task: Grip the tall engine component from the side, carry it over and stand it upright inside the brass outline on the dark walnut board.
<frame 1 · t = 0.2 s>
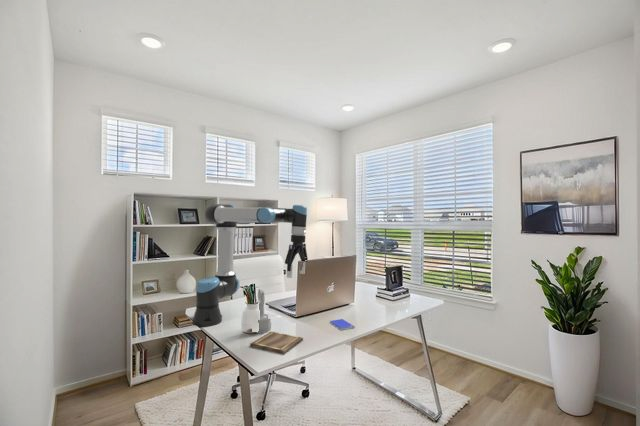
hand: (295, 275, 160), 27 cm above the table, tool pointing down, fingers open, 13 cm apart
walnut board: (277, 343, 140), on the table
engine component: (261, 329, 158), on the table
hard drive: (342, 326, 164), on the table
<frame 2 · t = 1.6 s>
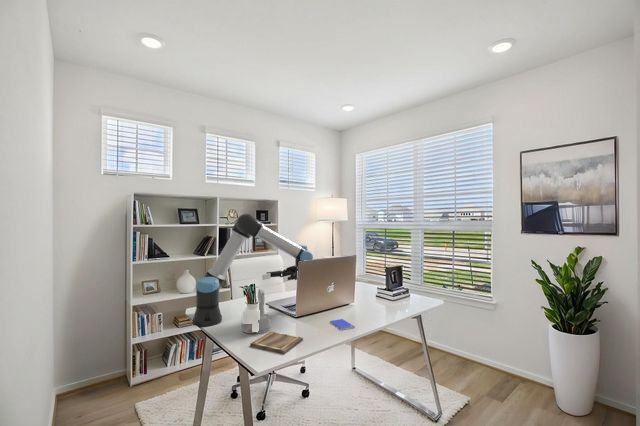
hand: (273, 278, 167), 24 cm above the table, tool horizontal, fingers open, 13 cm apart
nothing on the table moved.
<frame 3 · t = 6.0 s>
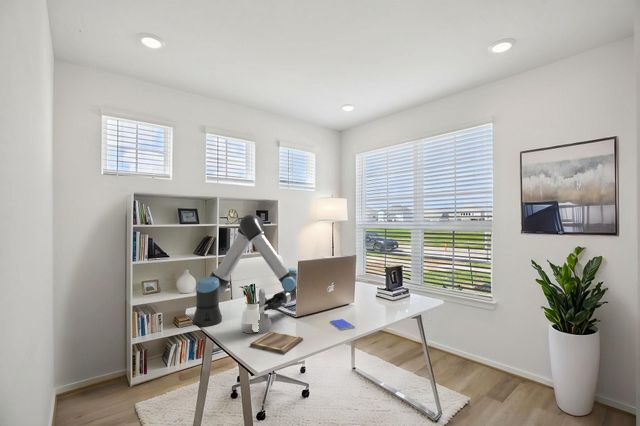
hand: (255, 309, 154), 11 cm above the table, tool horizontal, fingers closed on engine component, 4 cm apart
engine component: (261, 329, 158), on the table, touching gripper
everything else where it was.
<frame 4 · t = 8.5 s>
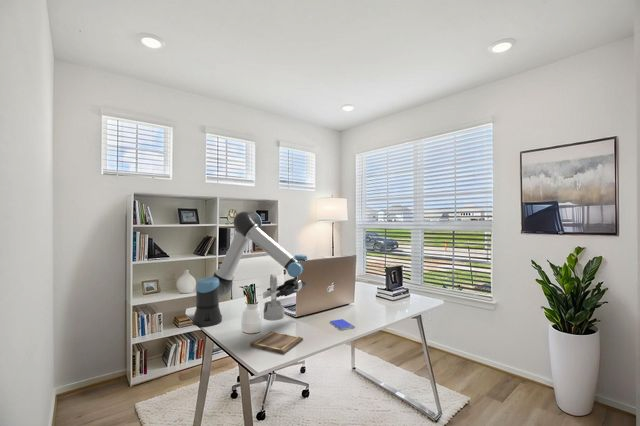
hand: (267, 296, 145), 20 cm above the table, tool horizontal, fingers closed on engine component, 4 cm apart
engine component: (273, 317, 149), point 9 cm above the table, touching gripper
everything else where it was.
when the fingers open (13 cm above the table, at t = 11.1 s): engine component stays where it is, point 1 cm above the table.
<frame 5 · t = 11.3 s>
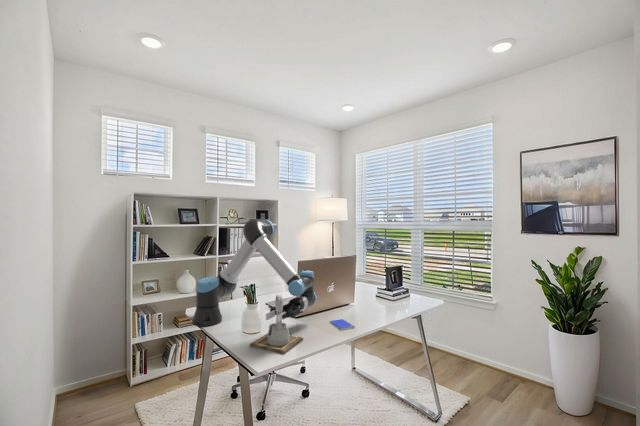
hand: (272, 317, 137), 13 cm above the table, tool horizontal, fingers open, 5 cm apart
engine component: (278, 340, 140), point 1 cm above the table, touching gripper
everything else where it was.
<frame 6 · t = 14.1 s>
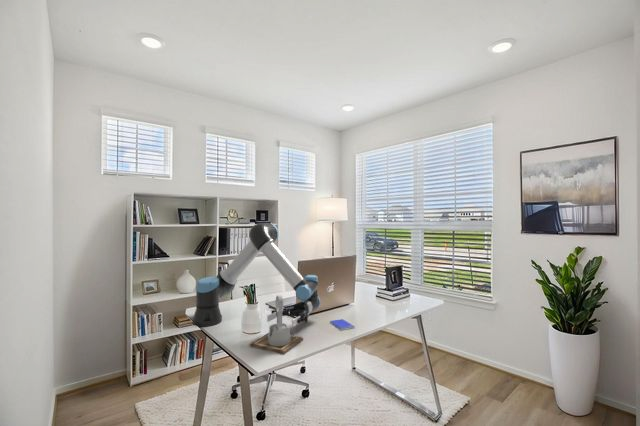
hand: (279, 321, 142), 10 cm above the table, tool horizontal, fingers open, 13 cm apart
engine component: (279, 341, 140), point 1 cm above the table, touching walnut board
everything else where it was.
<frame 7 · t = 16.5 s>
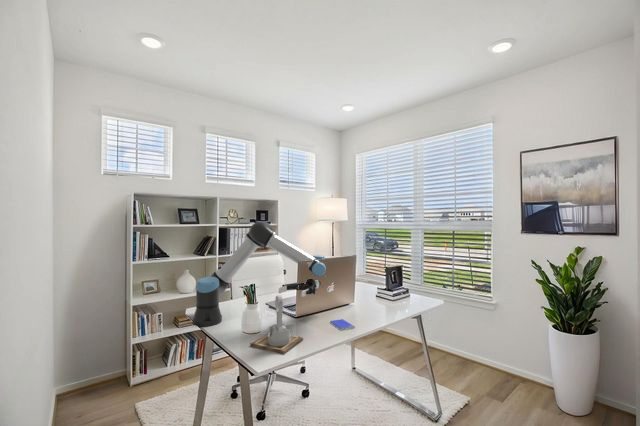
hand: (290, 292, 157), 19 cm above the table, tool horizontal, fingers open, 13 cm apart
nothing on the table moved.
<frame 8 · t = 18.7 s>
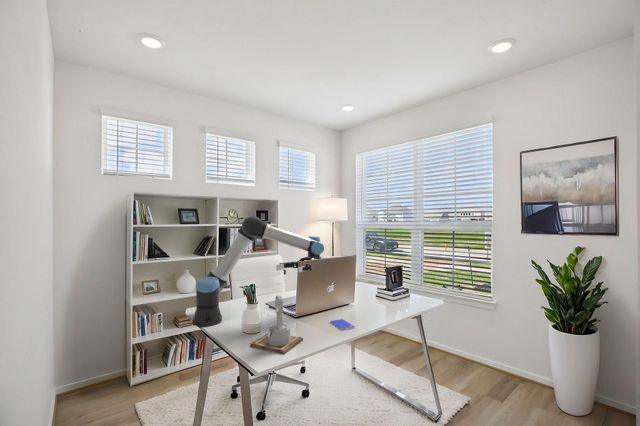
hand: (287, 268, 164), 30 cm above the table, tool horizontal, fingers open, 13 cm apart
nothing on the table moved.
at the end: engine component inside the target area on the walnut board (1.2 cm from its centre), point 1.0 cm above the walnut board's base; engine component tilted 1°; the gripper is holding nothing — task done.
